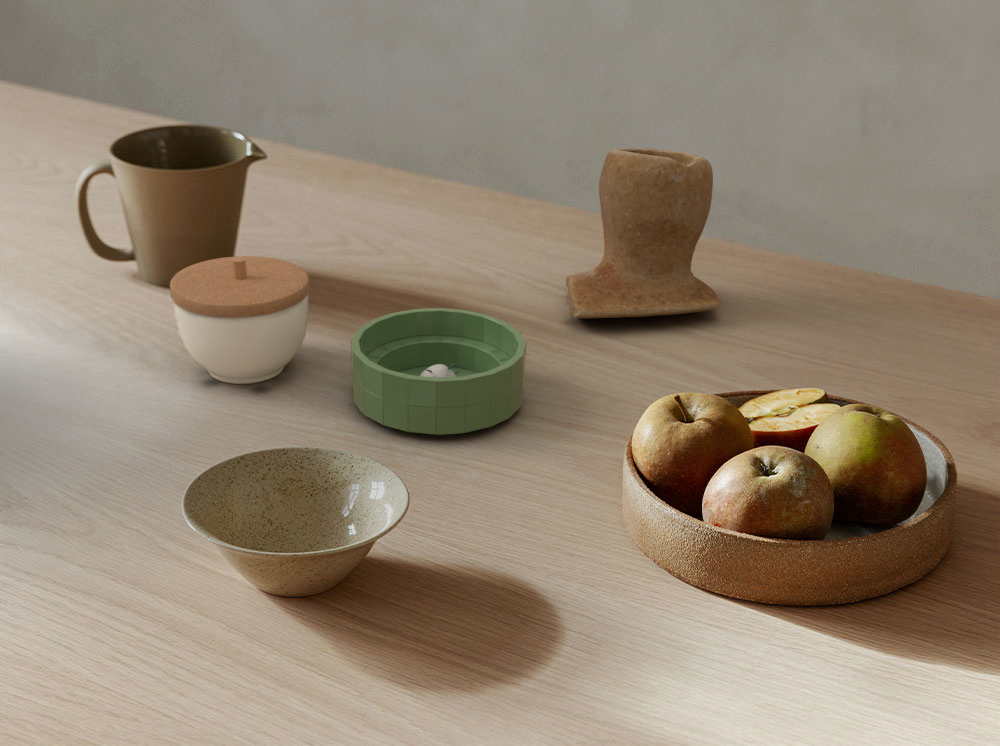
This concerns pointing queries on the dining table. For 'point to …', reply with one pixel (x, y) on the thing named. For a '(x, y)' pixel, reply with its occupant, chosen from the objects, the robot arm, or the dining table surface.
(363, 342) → the green bowl
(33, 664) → the dining table surface
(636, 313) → the stone cup
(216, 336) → the lidded sugar bowl
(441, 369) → the white garlic bulb
